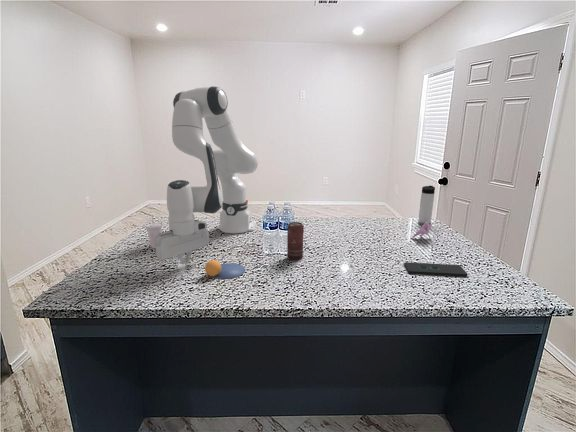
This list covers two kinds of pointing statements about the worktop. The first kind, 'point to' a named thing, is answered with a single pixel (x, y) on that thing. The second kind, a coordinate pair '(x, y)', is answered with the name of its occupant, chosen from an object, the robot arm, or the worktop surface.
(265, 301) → the worktop surface
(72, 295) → the worktop surface
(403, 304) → the worktop surface
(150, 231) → the smoothie
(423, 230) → the pink bird figurine
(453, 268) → the smart home device
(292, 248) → the can
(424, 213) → the travel mug
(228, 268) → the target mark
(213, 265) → the ball
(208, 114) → the robot arm
